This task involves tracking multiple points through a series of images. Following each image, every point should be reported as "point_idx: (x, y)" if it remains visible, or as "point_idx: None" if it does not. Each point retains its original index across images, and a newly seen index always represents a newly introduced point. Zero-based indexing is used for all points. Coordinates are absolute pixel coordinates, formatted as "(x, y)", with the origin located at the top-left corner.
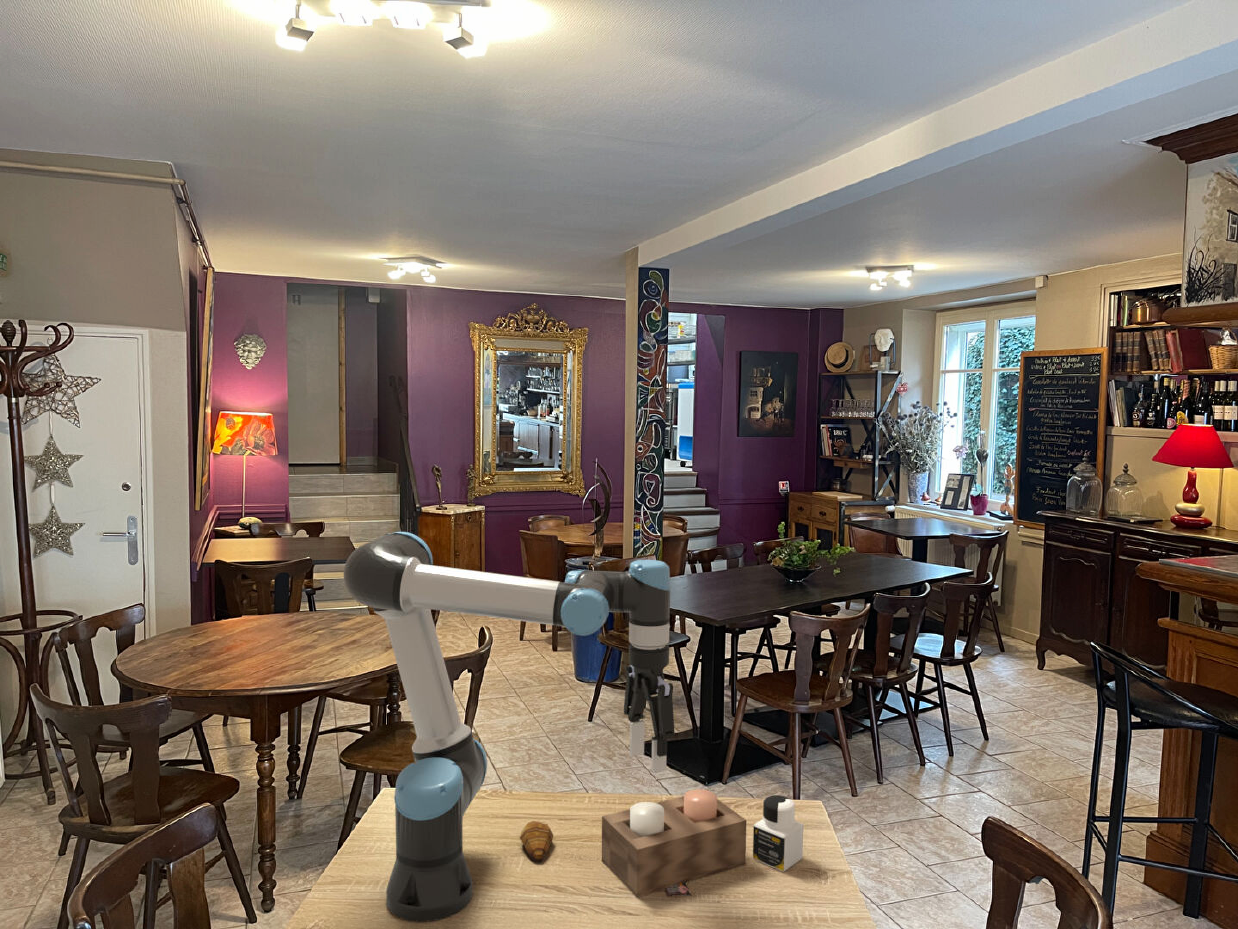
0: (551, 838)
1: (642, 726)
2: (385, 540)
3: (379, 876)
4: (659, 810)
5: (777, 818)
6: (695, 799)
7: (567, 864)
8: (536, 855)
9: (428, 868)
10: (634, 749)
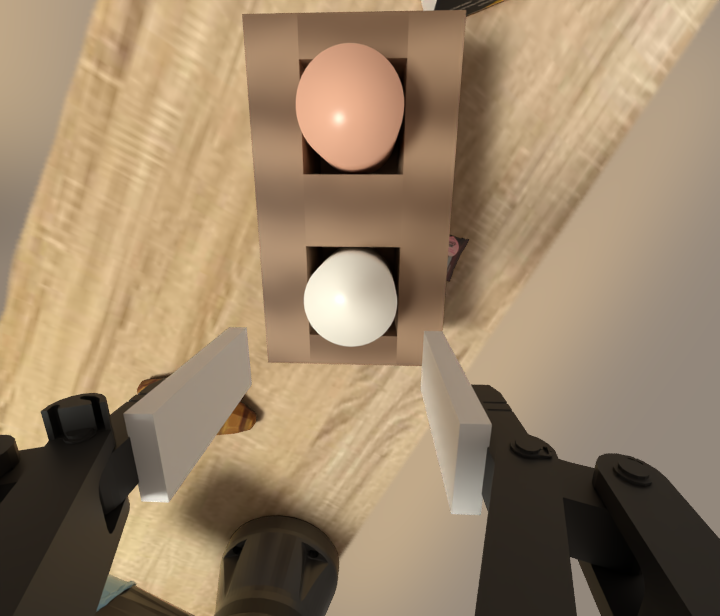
0: None
1: (174, 408)
2: None
3: (207, 590)
4: (370, 275)
5: None
6: (359, 134)
7: (278, 379)
8: (251, 427)
9: None
10: (238, 388)
